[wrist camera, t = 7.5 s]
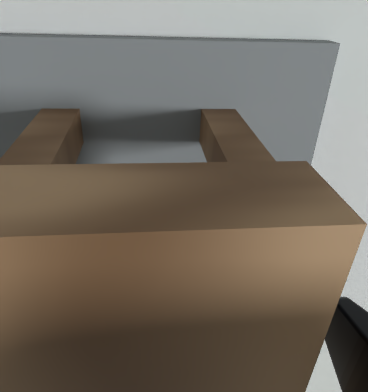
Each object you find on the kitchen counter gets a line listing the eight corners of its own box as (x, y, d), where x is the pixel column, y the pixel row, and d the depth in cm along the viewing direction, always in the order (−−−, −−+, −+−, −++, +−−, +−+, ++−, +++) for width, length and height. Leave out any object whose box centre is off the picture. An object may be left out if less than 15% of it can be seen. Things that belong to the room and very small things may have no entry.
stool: (246, 98, 10) (367, 224, 5) (221, 297, 14) (270, 485, 9) (28, 97, 9) (-122, 241, 4) (68, 306, 13) (20, 514, 8)
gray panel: (269, 308, 16) (273, 319, 15) (11, 324, 14) (7, 336, 14) (329, 40, 10) (340, 43, 9) (-85, 31, 9) (-98, 34, 8)
